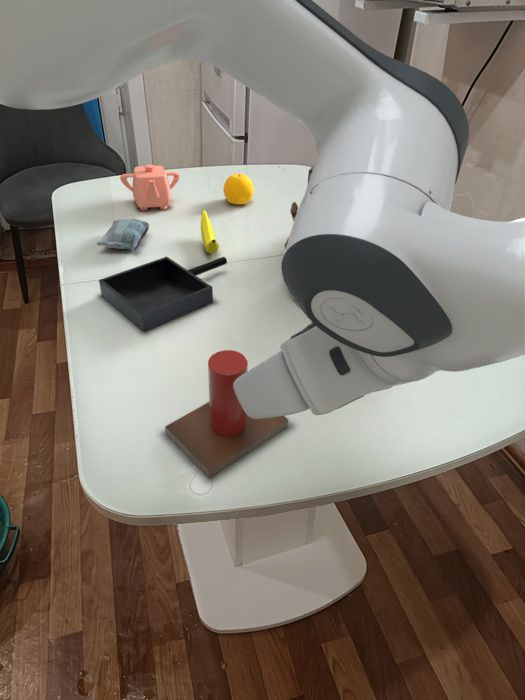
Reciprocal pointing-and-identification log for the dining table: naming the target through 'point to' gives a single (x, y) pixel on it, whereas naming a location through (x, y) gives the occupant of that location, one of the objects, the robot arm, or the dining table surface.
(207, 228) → the banana
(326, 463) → the dining table surface
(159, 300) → the steel pan
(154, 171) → the teapot
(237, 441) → the walnut board
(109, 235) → the packaged food
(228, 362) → the red cylinder
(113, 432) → the dining table surface
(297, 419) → the dining table surface
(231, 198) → the yellow rounded piece
